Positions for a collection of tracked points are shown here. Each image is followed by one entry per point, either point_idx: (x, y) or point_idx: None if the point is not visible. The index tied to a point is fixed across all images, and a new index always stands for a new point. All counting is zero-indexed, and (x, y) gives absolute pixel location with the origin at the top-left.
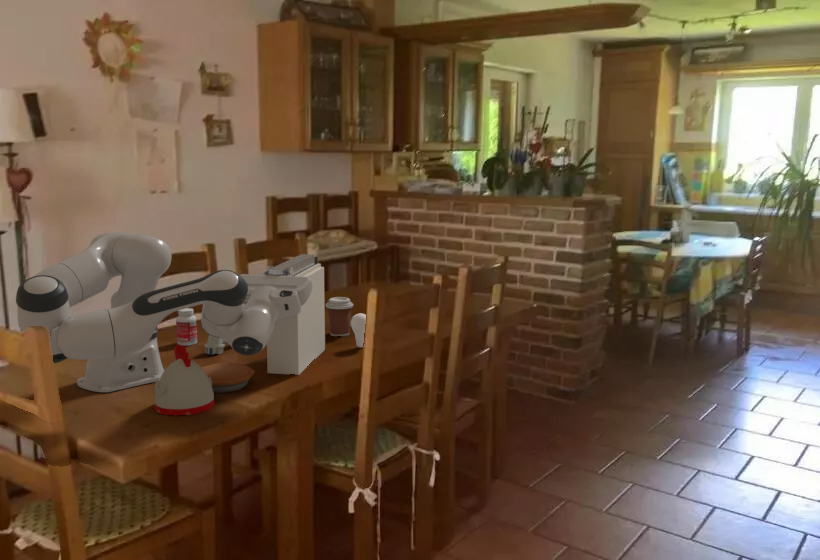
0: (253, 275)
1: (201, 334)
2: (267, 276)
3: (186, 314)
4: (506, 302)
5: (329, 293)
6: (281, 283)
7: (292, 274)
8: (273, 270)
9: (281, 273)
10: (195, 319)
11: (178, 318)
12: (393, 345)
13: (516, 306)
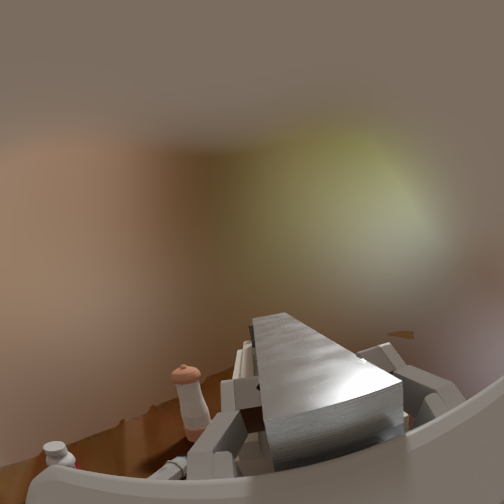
0: (135, 494)
1: (98, 465)
2: (289, 494)
3: (54, 456)
4: (388, 335)
5: (225, 372)
6: (485, 495)
7: (446, 382)
8: (316, 415)
9: (392, 413)
10: (72, 461)
11: (47, 460)
12: (408, 423)
13: (403, 334)
